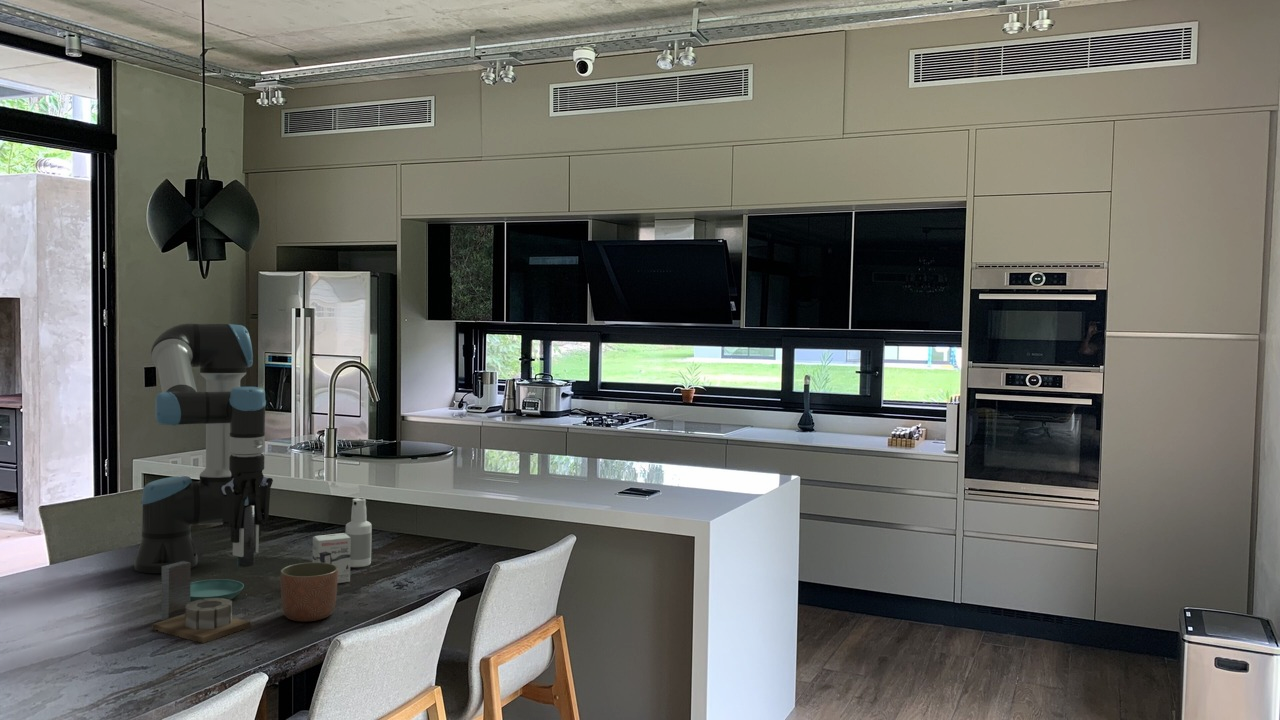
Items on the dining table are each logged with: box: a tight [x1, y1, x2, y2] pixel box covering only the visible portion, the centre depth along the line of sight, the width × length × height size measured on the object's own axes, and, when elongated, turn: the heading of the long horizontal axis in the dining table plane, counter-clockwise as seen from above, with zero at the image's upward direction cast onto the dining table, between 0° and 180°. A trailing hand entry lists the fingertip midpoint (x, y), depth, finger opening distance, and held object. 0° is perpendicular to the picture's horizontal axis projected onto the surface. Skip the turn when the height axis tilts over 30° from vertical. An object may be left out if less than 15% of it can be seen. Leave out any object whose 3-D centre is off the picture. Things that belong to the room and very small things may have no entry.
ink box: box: [312, 532, 351, 584], centre depth 246 cm, size 8×5×12 cm, turn 123°
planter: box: [280, 561, 338, 623], centre depth 218 cm, size 12×12×11 cm
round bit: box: [236, 504, 255, 568], centre depth 223 cm, size 4×4×14 cm
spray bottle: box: [345, 497, 373, 568], centre depth 263 cm, size 7×7×18 cm
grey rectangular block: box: [160, 561, 192, 621], centre depth 215 cm, size 6×2×12 cm, turn 153°
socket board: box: [151, 598, 251, 644], centre depth 208 cm, size 16×12×5 cm
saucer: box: [190, 578, 245, 602], centre depth 230 cm, size 15×15×3 cm
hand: (245, 553), depth 223 cm, fingers closed on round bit, 3 cm apart
